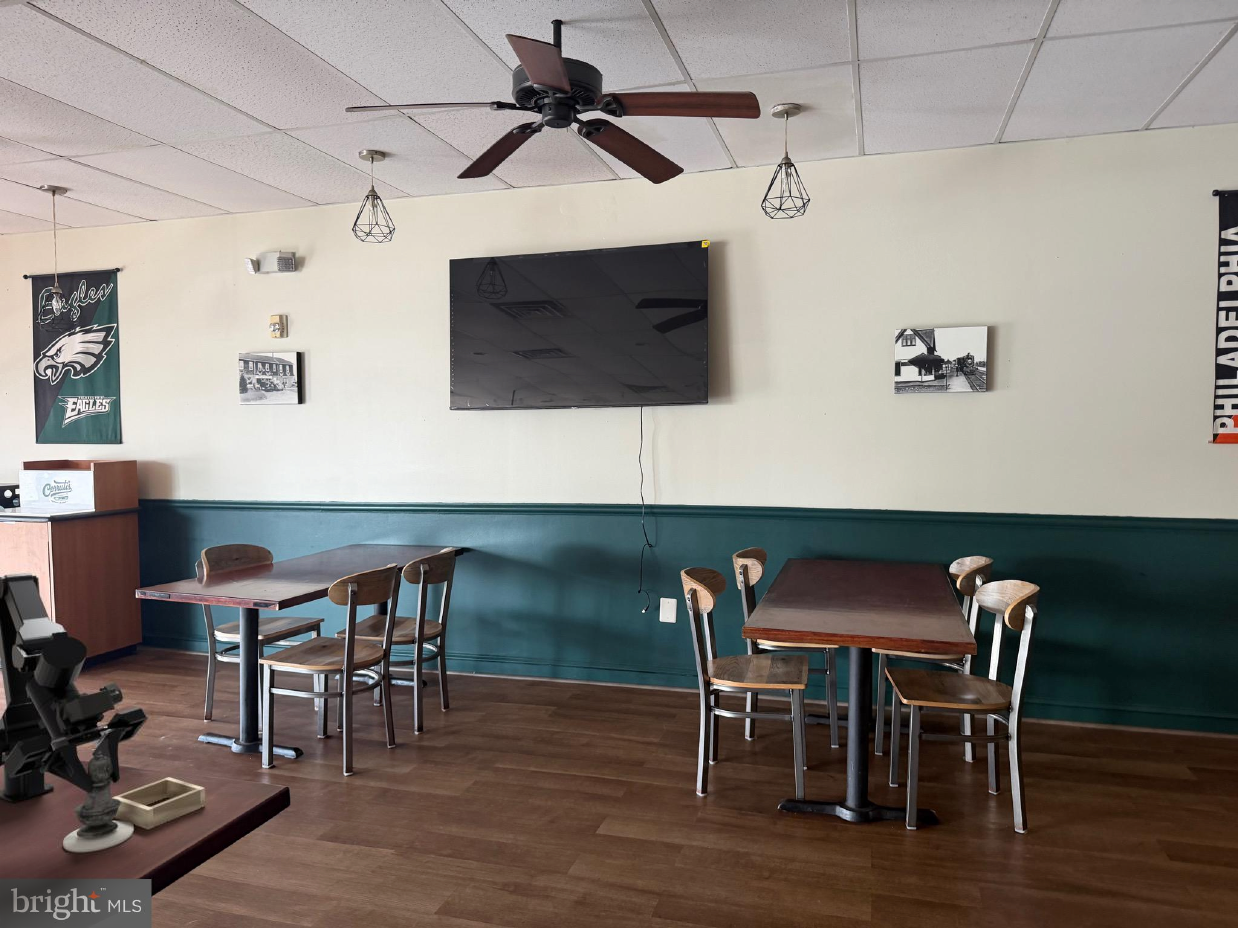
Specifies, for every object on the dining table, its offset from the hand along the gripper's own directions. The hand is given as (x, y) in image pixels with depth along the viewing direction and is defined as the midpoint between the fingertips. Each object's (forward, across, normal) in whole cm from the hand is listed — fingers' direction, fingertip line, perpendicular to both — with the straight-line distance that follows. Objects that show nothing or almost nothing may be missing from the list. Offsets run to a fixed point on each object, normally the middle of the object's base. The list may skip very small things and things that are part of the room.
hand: (104, 785), depth 123 cm
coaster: (+5, 0, +6) cm, 8 cm away
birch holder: (+5, +10, +7) cm, 13 cm away
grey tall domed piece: (+4, 0, +6) cm, 7 cm away
